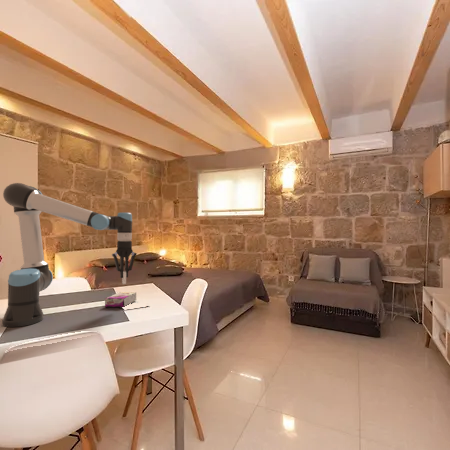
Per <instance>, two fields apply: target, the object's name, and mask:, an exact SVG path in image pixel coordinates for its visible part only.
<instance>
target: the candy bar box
mask: <svg viewBox="0 0 450 450" xmlns="http://www.w3.org/2000/svg"><path fill="white" fill-rule="evenodd" d="M135 300H136V301H137V292H130V291H129V292H126V291H125V292H121V291H119V292H117V293H114V294H113V295H110V296H108V297H105V298H104V307H105V308H121V307H125V306H127V305H129V304H130V303H135V302H136V301H135Z"/></svg>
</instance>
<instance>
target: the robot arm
mask: <svg viewBox="0 0 450 450" xmlns="http://www.w3.org/2000/svg"><path fill="white" fill-rule="evenodd" d="M2 193H3V194H2V196H3V199H4V201H5V202H6V203H7V204H8V205H10V206H11V207H13V213H14V215H16V216H17V217H18V225H19V232H20V242H21V249H22V257H23V265H22V266H21V267H20V269H17V270H13V271H11V272H10V273H9V274H8V279H7V307H6V310H5V312H4V315H3V318H2V323H1V325H2V326H3V327H7V328H15V327H25V326H30V325H34V324H37V323H39V322H41V321H43V319H44V312H43V310H42V306H41V304H40V292H42V291H45V290H46V289H47V288H48V287H49V286H50V285H51V283H52V282H53V280H54V276H53V272H52V271H51V269H50V268H49V267H50V266H49V263H48V262H47V261H45V256H44V255H45V253H44V248H43V247H44V246H43V238H42V229H41V221H40V215H41V213H42V212H43V213H46V214H49V215H52V216H55V217H58V218H61V219H65V220H68V221H70V222H71V221H72V222H75V223H78V224H81V225H84V226H87V227H90V228H92V229H94V230H95V231H96V230H98V231H103V230H104V231H107V230H108V231H112V230H114V231H117V233H116V234H117V236H116V237H117V238H116V239H117V242H116V243H117V244H116V245H117V246H116V247H117V248H116V250H115V252H114V253H112V254H111V256H112V257H113V260H114V264H115V267H116V271H117V272H120V278H121V284H122V285H126V284H127V278H129V271H132V269H133V266H134V262H135V258H136V256H137V255H138V253H136V252H134V250H133V246H132V245H133V243H132V238H133V215H132V212H118V213H117V215H115V216H114V215H105V214H101V213H99V212H96V211H92V210H91V209H90V210H89V209H86V208H84V207H80V206H78V205H74V204H71V203H68V202H65V201H62V200H59V199H56V198H54V197H50V196H48V195H45V194H43V193H42V191H40V190H39V189H37V188H36V187H34V186H31V185H28V184H24V183H21V182H13V183H10V184H9V185H7V186H6V187H5V188H4V189H3V192H2ZM130 256H131V258H130ZM118 257H119V259H118ZM129 258H130V261H129ZM118 260H119V261H120V262H119V261H118Z"/></svg>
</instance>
